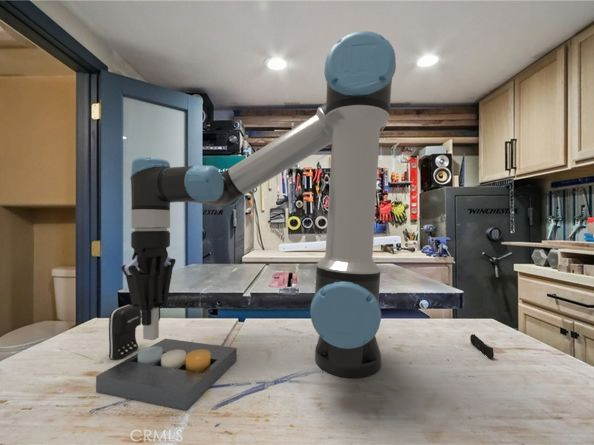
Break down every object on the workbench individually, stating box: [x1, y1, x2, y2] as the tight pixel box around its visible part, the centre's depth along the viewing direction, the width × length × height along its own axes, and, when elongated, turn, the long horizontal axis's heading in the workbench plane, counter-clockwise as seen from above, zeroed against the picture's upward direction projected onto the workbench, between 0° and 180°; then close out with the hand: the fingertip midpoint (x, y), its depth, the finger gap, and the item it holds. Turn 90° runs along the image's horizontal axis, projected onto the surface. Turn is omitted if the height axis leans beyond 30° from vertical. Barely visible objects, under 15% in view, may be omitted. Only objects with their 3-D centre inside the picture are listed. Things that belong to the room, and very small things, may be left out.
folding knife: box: [469, 333, 495, 360], centre depth 69 cm, size 10×1×3 cm, turn 172°
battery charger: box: [108, 304, 142, 360], centre depth 68 cm, size 7×4×11 cm, turn 171°
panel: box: [95, 338, 238, 411], centre depth 58 cm, size 20×18×3 cm
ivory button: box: [161, 350, 186, 369], centre depth 58 cm, size 5×5×3 cm
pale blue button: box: [137, 346, 163, 365], centre depth 60 cm, size 5×5×3 cm
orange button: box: [186, 349, 210, 373], centre depth 57 cm, size 5×5×3 cm
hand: (151, 338), depth 60 cm, fingers closed
